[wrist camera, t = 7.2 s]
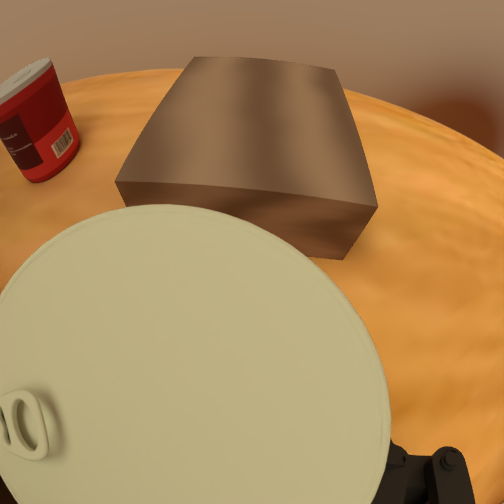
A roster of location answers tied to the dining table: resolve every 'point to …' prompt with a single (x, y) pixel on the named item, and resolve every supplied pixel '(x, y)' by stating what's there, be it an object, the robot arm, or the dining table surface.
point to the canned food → (37, 122)
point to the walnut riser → (257, 152)
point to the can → (185, 369)
